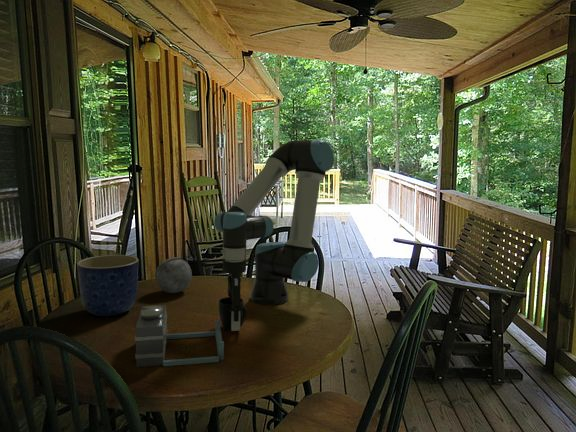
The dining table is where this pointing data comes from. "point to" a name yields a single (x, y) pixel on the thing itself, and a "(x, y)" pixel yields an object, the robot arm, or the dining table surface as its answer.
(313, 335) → the dining table surface
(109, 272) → the planter
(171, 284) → the decorative orb
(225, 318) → the mug
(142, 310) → the grey stepped block
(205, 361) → the clip bracket
